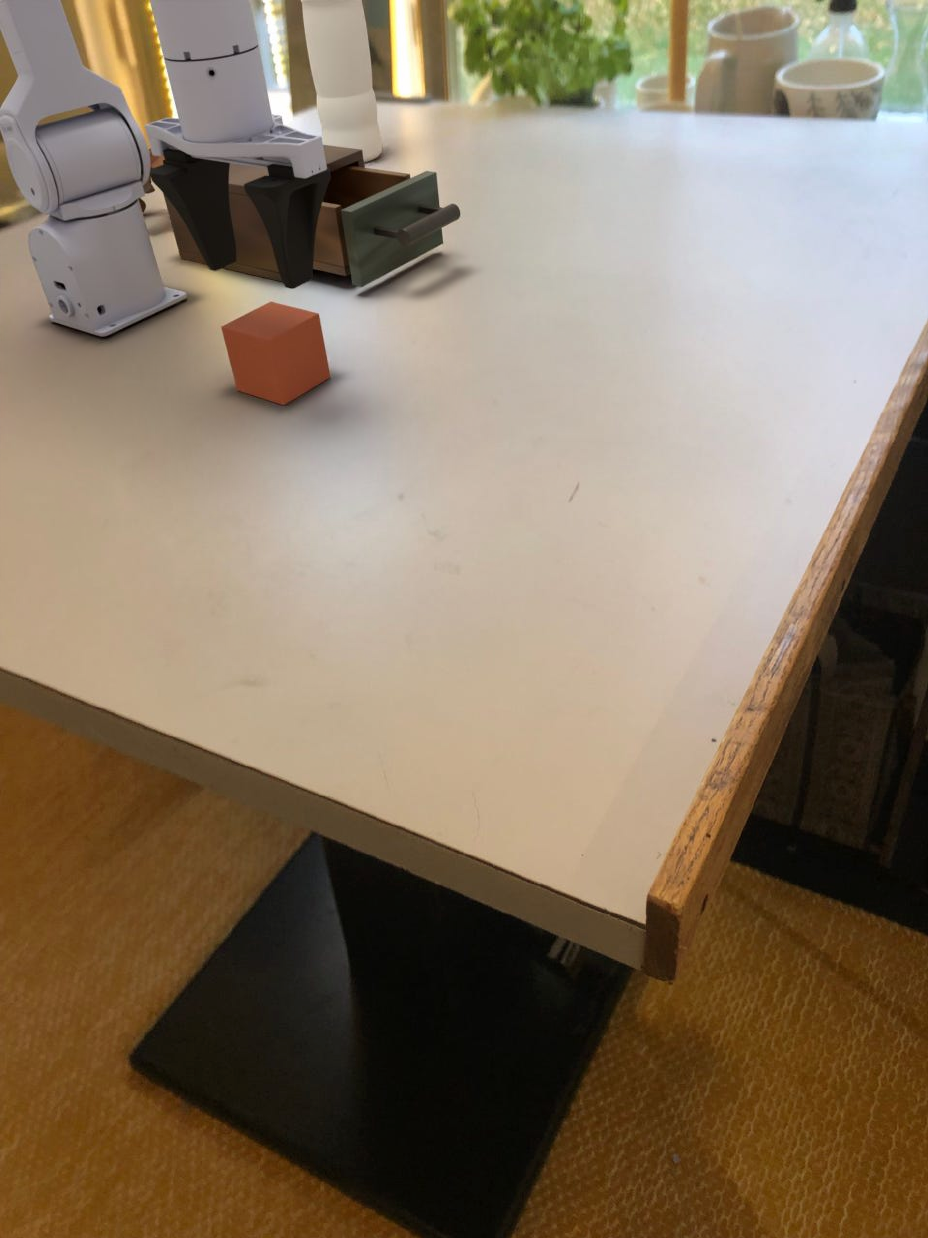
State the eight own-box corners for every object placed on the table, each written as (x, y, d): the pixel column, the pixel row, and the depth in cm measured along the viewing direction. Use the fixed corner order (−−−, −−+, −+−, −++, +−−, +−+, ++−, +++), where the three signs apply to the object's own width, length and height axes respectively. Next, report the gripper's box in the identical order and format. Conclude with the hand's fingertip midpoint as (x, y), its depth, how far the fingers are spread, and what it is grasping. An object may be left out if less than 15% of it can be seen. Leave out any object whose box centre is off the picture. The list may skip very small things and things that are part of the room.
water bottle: (317, 156, 121) (275, -93, 104) (371, 145, 122) (337, -102, 106) (336, 169, 115) (295, -91, 99) (391, 157, 117) (360, -100, 101)
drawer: (479, 249, 89) (473, 176, 85) (398, 295, 82) (388, 218, 78) (337, 224, 97) (326, 156, 93) (254, 263, 91) (238, 192, 87)
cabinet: (374, 237, 96) (362, 149, 91) (284, 282, 89) (265, 189, 84) (271, 217, 104) (254, 135, 98) (180, 258, 96) (156, 171, 91)
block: (283, 405, 70) (269, 339, 67) (236, 390, 73) (220, 326, 70) (331, 377, 73) (319, 312, 70) (284, 363, 76) (270, 300, 73)
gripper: (344, 41, 58) (376, 270, 66) (183, 33, 65) (231, 240, 74) (257, 68, 54) (304, 308, 62) (97, 56, 61) (158, 272, 70)
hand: (260, 273), depth 68 cm, fingers open, 7 cm apart
